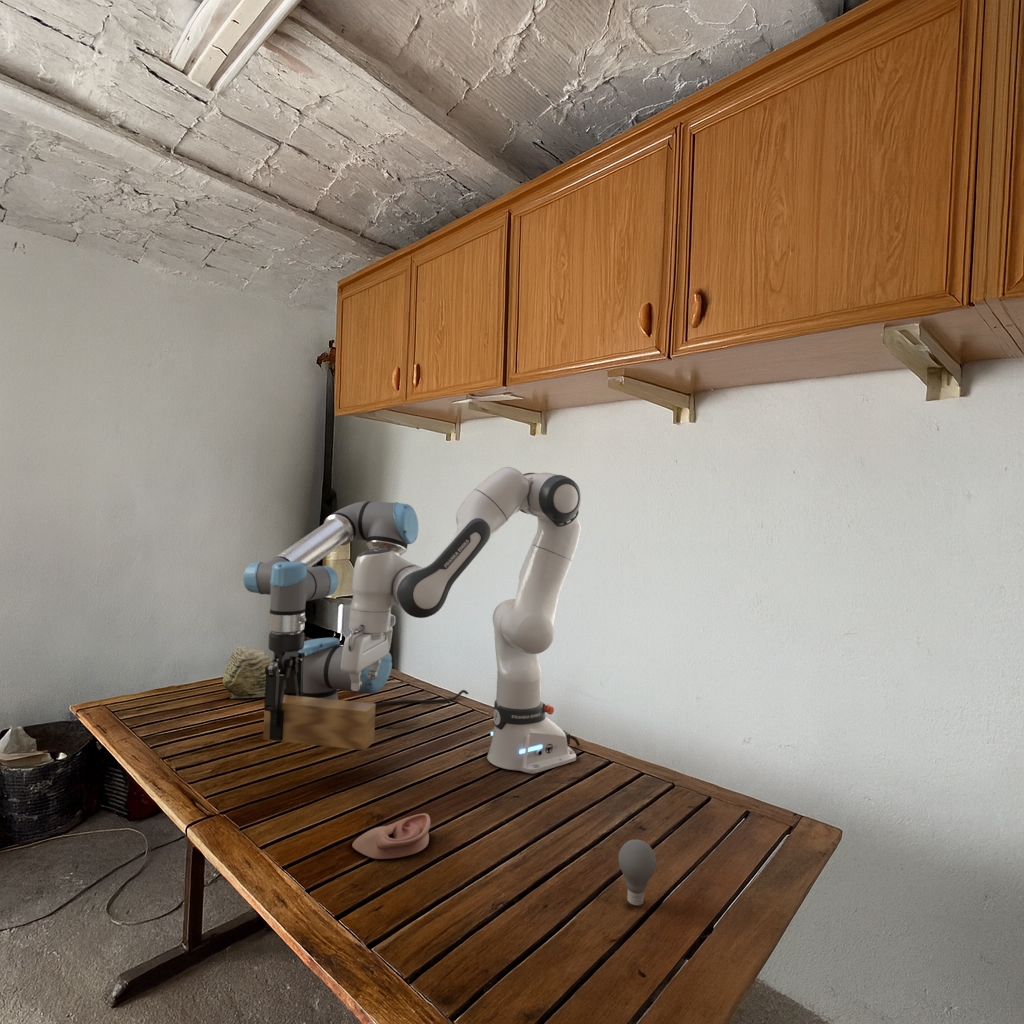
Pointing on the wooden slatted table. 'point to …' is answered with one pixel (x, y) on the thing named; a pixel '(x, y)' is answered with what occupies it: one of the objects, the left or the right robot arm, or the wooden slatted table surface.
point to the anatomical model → (395, 838)
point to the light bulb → (636, 868)
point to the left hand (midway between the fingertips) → (283, 734)
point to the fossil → (246, 673)
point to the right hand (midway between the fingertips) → (364, 684)
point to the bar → (326, 722)
